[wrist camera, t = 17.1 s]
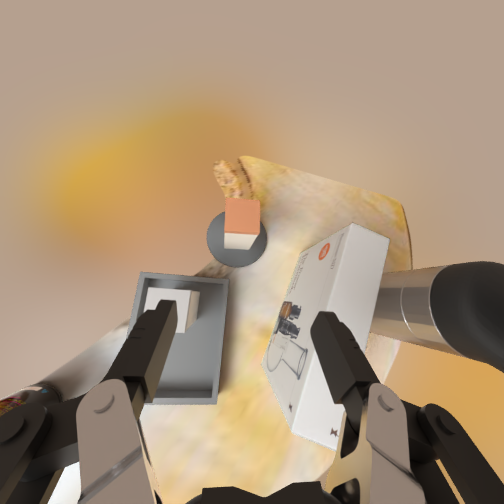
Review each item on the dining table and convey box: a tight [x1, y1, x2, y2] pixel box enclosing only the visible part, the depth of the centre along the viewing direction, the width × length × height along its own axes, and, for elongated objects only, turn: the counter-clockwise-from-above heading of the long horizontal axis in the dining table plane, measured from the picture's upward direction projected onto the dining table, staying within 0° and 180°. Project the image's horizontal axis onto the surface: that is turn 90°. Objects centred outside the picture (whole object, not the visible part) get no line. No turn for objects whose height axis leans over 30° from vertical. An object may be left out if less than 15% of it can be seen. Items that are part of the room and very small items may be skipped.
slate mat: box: [207, 212, 267, 267], centre depth 34 cm, size 11×11×1 cm
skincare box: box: [261, 223, 390, 452], centre depth 26 cm, size 21×6×16 cm, turn 157°
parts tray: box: [126, 272, 229, 405], centre depth 28 cm, size 18×14×2 cm
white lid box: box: [144, 287, 200, 333], centre depth 25 cm, size 5×5×10 cm
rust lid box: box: [224, 198, 260, 250], centre depth 29 cm, size 5×5×10 cm
